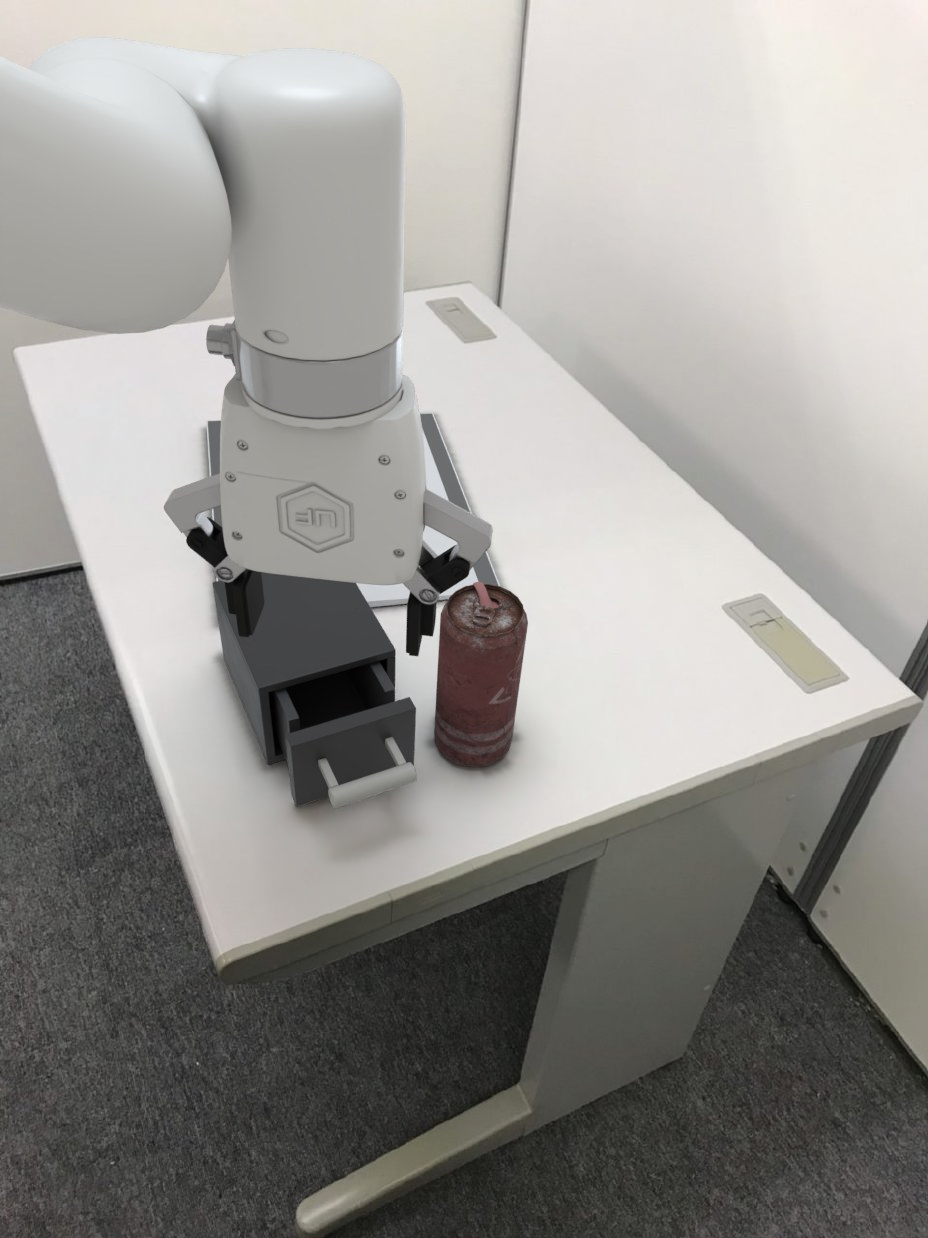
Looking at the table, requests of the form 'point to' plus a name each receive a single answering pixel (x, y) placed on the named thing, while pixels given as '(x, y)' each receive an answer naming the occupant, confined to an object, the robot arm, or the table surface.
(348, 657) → the dark grey cabinet
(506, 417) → the table surface
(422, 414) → the white grey flat panel
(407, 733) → the drawer
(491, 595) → the can
